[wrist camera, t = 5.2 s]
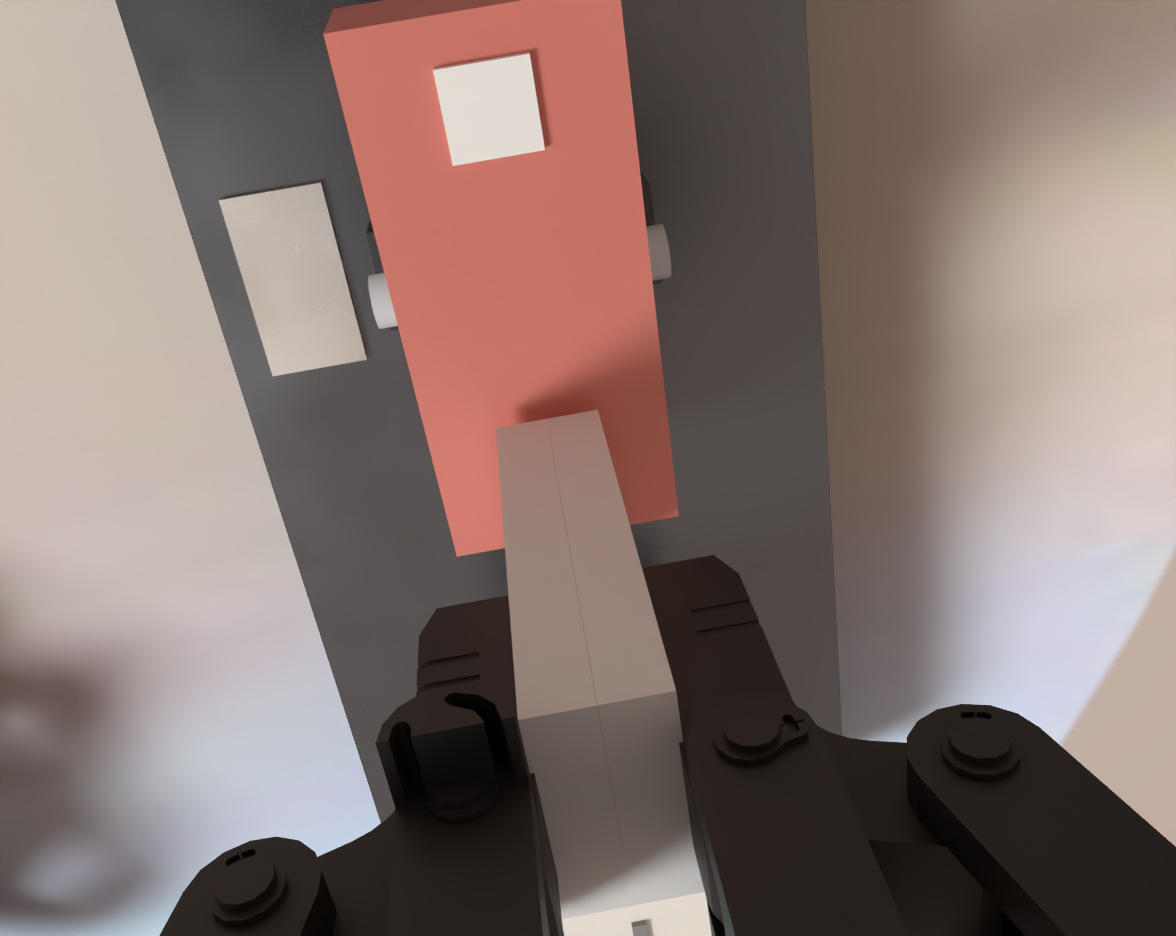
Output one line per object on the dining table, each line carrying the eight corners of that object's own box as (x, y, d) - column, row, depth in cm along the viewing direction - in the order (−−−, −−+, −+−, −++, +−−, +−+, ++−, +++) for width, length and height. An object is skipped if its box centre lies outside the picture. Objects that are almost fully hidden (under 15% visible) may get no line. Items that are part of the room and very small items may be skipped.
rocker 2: (468, 694, 19) (473, 779, 18) (716, 647, 19) (740, 728, 18) (535, 910, 25) (544, 987, 23) (730, 872, 25) (749, 947, 23)
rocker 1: (302, 13, 15) (289, 41, 13) (631, -42, 15) (653, -21, 13) (432, 504, 19) (432, 565, 18) (684, 458, 19) (704, 515, 18)
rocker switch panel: (73, -371, 17) (-56, -461, 13) (710, -472, 17) (796, -595, 13) (431, 838, 29) (427, 1002, 25) (801, 768, 29) (861, 918, 25)
